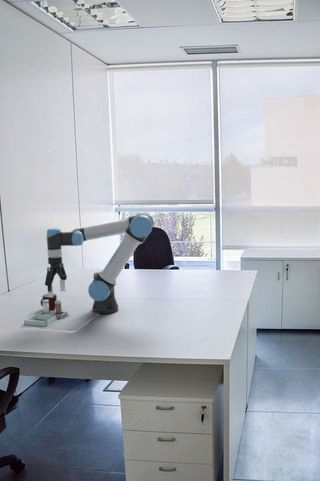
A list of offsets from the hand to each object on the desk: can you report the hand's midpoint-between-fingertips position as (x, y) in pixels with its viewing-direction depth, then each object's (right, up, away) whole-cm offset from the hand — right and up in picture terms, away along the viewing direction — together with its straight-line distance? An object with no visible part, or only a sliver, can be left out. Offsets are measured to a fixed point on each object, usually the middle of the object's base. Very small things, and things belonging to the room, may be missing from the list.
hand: (56, 294), depth 265 cm
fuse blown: (+1, -13, +2) cm, 13 cm away
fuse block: (-3, -14, +3) cm, 14 cm away
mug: (-8, -12, +16) cm, 22 cm away
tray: (-7, -15, -7) cm, 18 cm away
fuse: (-7, -13, +4) cm, 15 cm away
